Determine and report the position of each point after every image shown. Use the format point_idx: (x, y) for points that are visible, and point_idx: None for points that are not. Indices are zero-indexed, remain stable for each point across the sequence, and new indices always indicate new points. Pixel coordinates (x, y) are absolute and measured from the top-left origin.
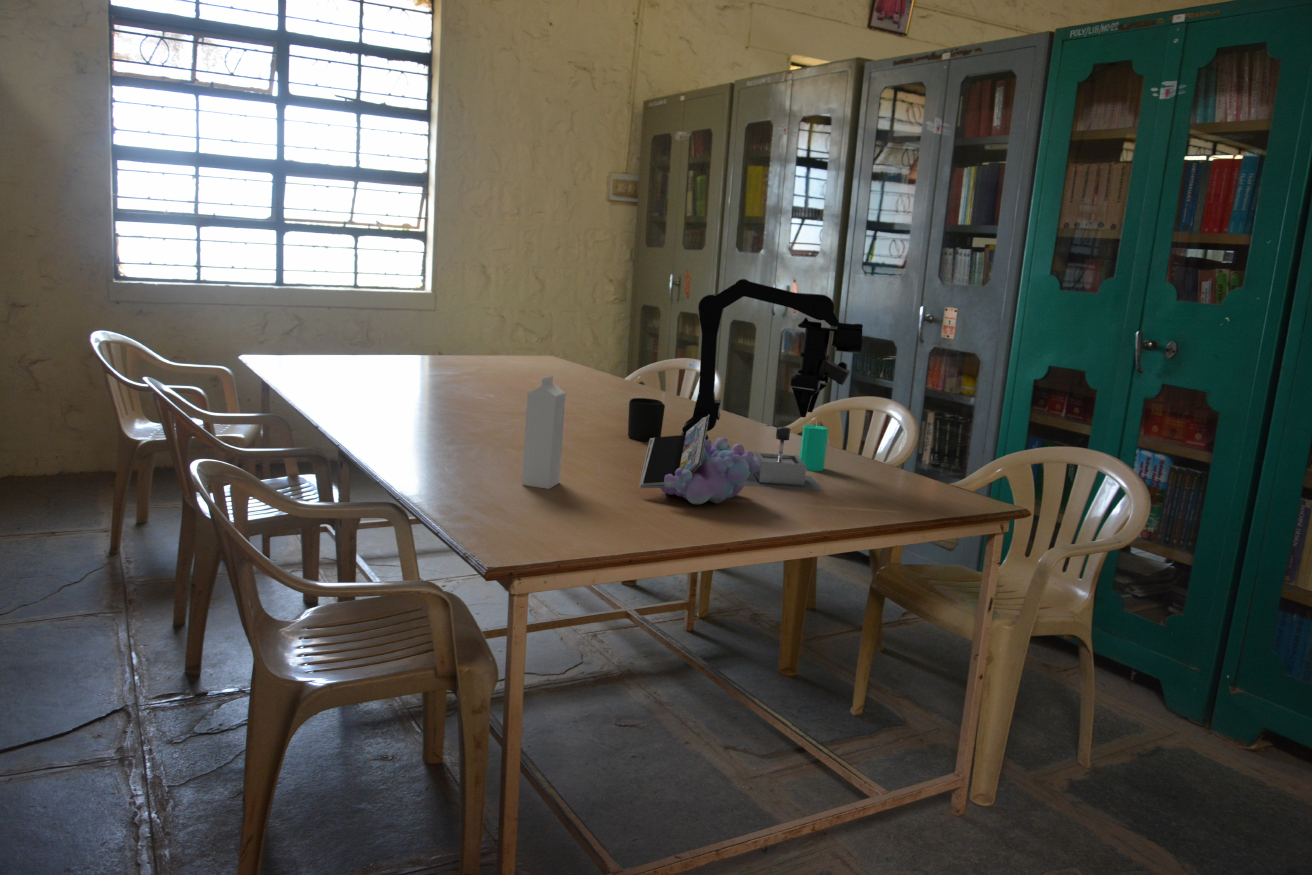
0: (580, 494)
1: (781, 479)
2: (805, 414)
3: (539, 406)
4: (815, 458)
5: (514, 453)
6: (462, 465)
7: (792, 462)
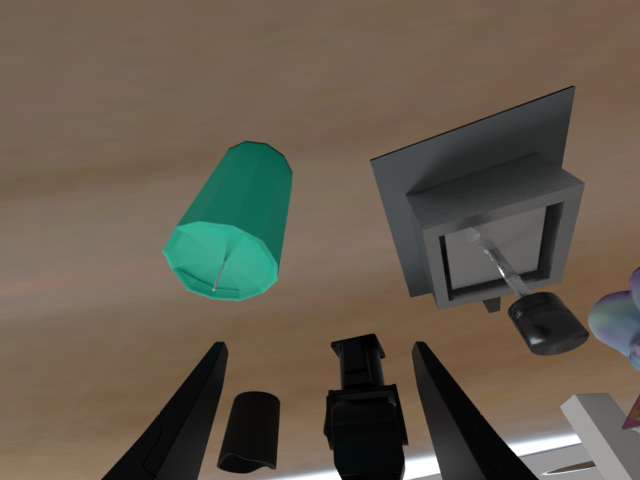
0: (634, 375)
1: None
2: (434, 355)
3: None
4: (284, 183)
5: None
6: (513, 434)
7: (492, 225)
